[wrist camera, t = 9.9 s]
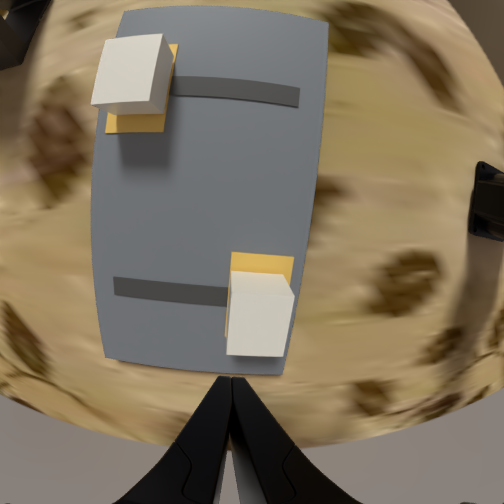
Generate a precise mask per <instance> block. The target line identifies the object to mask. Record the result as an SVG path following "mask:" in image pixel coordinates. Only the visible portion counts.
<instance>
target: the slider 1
mask: <svg viewBox="0 0 504 504" xmlns="http://www.w3.org/2000/svg"><path fill="white" fill-rule="evenodd" d="M173 58H174V55H173V53H172V51H171V49H170V47H169V45H168V43H167V41H166V39H165V37H164V35H163V34H149V35H138V36H129V37H121V38H114V39H108V40H106V41H105V45H104V48H103V52H102V55H101V59H100V63H99V67H98V71H97V76H96V80H95V85H94V90H93V95H92V100H91V105H92V106H95V107H97V108H99V109H102V110H104V111H106V112H108V113H110V114H113V115H128V114H164V109H165V103H166V96H167V90H168V85H169V79H170V74H171V68H172V63H173Z"/></svg>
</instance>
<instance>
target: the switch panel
mask: <svg viewBox="0 0 504 504" xmlns="http://www.w3.org/2000/svg"><path fill="white" fill-rule="evenodd" d="M149 34H163V35H164V37H165V39H166V41H167V43H168V45H169V47H170V49H171V51H172V53H173V55H174V58H173V63H172V68H171V74H170V79H169V85H168V90H167V96H166V103H165V109H164V114H128V115H113V114H110V113H108V112H106V111H104V110H102V109H99V114H98V121H97V128H96V136H95V145H94V155H93V168H92V185H91V247H92V265H93V277H94V288H95V297H96V305H97V313H98V320H99V326H100V332H101V338H102V343H103V349H104V354H105V358H110V359H115V360H121V361H126V362H132V363H138V364H145V365H151V366H158V367H166V368H174V369H183V370H193V371H205V372H218V373H236V374H283V370H284V365H285V361H286V356H287V351H288V347H289V342H290V337H291V332H292V327H293V322H294V317H295V312H296V307H297V301H298V296H299V291H300V285H301V279H302V274H303V268H304V262H305V256H306V249H307V243H308V237H309V230H310V223H311V216H312V209H313V202H314V194H315V187H316V179H317V170H318V162H319V153H320V143H321V133H322V123H323V111H324V99H325V85H326V69H327V50H328V23H327V22H323V21H319V20H315V19H310V18H306V17H301V16H297V15H291V14H286V13H280V12H274V11H267V10H260V9H251V8H241V7H228V6H169V7H155V8H145V9H137V10H130V11H124V13H123V16H122V19H121V22H120V25H119V28H118V31H117V34H116V38H121V37H129V36H138V35H149ZM231 271H241V272H254V273H268V274H282V275H284V277H285V279H286V281H287V283H288V285H289V287H290V288H291V290H292V292H293V294H294V296H295V297H294V303H293V308H292V314H291V319H290V324H289V329H288V334H287V339H286V344H285V349H284V354H283V357H273V356H242V355H226V324H227V312H228V300H229V288H230V276H231Z"/></svg>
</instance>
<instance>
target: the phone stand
mask: <svg viewBox="0 0 504 504" xmlns="http://www.w3.org/2000/svg"><path fill="white" fill-rule="evenodd" d="M50 1H51V0H0V9H3V10H8V11H9V13H8V15H7V17H6V19H5V20H4V18H3V17H2V16H1V15H0V70H1V69H4V68H8V67H11V66H15V65H19V64H22V62H23V60H24V58H25V55H26V52H27V50H28V47H29V45H30V42H31V40H32V38H33V35H34V33H35V31H36V29H37V26H38V24H39V22H40V21H39V19H41V18H42V16H43V14H44V12H45V10H46V8H47V6H48V5H49V3H50Z"/></svg>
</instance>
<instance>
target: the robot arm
mask: <svg viewBox="0 0 504 504" xmlns="http://www.w3.org/2000/svg"><path fill="white" fill-rule="evenodd" d="M469 232H470V234H473V235H476V236H481V237H485V238H489V239H493V240H497V241H501V242H503V241H504V173H503V172H501V171H500V170H498V169H496V168H494V167H493V166H491V165H489V164H487V163H485V162H483V161H479V162H478V163H477V174H476V184H475V193H474V201H473V208H472V214H471V220H470V226H469ZM229 434H230V445H231V451H232V457H233V464H234V470H235V476H236V482H237V488H238V493H239V499H240V504H363V503H361V502H359V501H357V500H355V499H354V498H352V497H351V496H350V495H348V494H347V493H346V492H344V491H343V490H342V489H341V488H339V487H338V486H337V485H336V484H335V483H334V482H332V481H331V480H330V479H329V478H328V477H326V476H325V475H324V474H323V473H322V472H321V471H320V470H319V469H318V468H316V467H315V466H314V465H313V464H312V463H311V462H310V460H309V459H308V458H307V457H306V456H305V455H304V454H303V453H302V452H301V450H300V449H299V448H298V447H297V446H296V445H295V443H294V442H293V441H292V439H291V438H290V437H289V436H288V434H287V433H286V432H285V431H284V429H283V428H282V427H281V426H280V424H279V423H278V422H277V420H276V419H275V418H274V417H273V415H272V414H271V413H270V411H269V410H268V409H267V407H266V406H265V405H264V403H263V402H262V401H261V399H260V398H259V397H258V395H257V394H256V393H255V391H254V390H253V388H252V387H251V386H250V384H249V383H248V382H247V380H246V379H245V378H244V377H232V378H231V377H230V376H218V377H217V379H216V380H215V382H214V383H213V385H212V386H211V388H210V389H209V391H208V392H207V394H206V395H205V397H204V398H203V400H202V401H201V403H200V404H199V406H198V407H197V409H196V410H195V412H194V413H193V415H192V416H191V418H190V419H189V421H188V422H187V423H186V425H185V426H184V428H183V429H182V431H181V432H180V434H179V435H178V436H177V438H176V439H175V442H173V443H172V445H171V446H170V447H169V449H168V450H167V452H166V453H165V454H164V456H163V457H162V458H161V459H160V460H159V462H158V463H157V464H156V465H155V466H154V467H153V468H152V469H151V470H150V471H149V472H148V473H147V474H146V475H145V476H144V477H143V478H142V479H141V480H140V481H139V482H138V483H137V484H136V485H135V486H133V487H132V488H131V489H130V490H129V491H128V492H127V493H126V494H125V495H124V496H122V497H121V498H120V499H119V500H117V501H116V502H114V503H112V504H219V500H220V493H221V487H222V480H223V474H224V468H225V461H226V454H227V448H228V441H229ZM6 504H9V503H6ZM460 504H475V503H469V502H462V503H460ZM503 504H504V503H503Z"/></svg>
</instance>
